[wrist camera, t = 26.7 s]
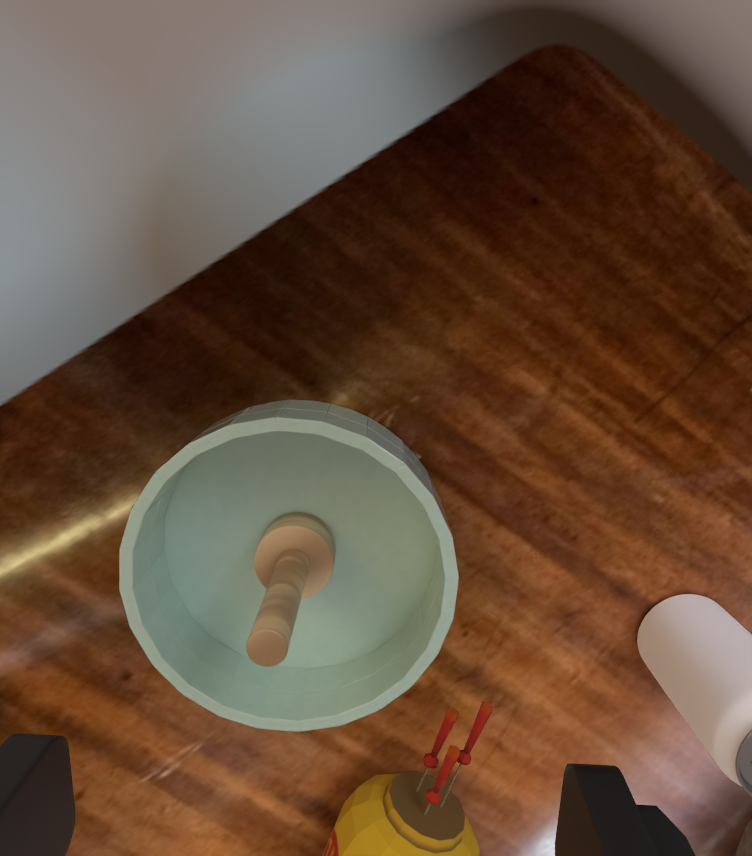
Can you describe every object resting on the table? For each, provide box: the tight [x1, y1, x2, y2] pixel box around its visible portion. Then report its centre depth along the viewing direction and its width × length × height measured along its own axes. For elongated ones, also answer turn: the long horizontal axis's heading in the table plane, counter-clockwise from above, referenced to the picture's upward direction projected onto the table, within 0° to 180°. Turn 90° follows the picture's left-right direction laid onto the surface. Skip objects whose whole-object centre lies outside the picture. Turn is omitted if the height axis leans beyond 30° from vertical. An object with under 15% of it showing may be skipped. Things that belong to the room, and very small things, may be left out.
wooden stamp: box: [246, 512, 336, 667], centre depth 36 cm, size 5×5×12 cm
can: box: [637, 594, 752, 797], centre depth 38 cm, size 6×6×12 cm
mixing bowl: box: [119, 400, 459, 732], centre depth 39 cm, size 20×20×6 cm
